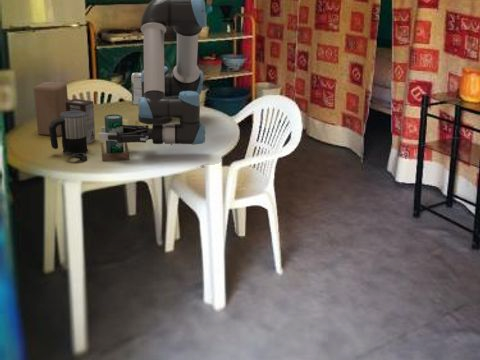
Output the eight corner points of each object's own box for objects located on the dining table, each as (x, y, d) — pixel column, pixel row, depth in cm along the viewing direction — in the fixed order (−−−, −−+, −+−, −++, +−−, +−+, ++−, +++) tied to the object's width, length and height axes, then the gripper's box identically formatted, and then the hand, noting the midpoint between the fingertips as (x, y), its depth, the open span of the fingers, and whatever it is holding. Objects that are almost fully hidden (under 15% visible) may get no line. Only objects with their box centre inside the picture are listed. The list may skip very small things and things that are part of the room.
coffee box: (67, 141, 243) (64, 101, 237) (76, 137, 248) (73, 98, 242) (87, 144, 240) (84, 104, 234) (96, 139, 246) (93, 100, 240)
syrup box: (132, 101, 303) (131, 72, 298) (144, 101, 304) (144, 72, 298) (131, 104, 298) (130, 75, 293) (144, 104, 298) (143, 75, 293)
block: (59, 136, 248) (55, 88, 240) (37, 134, 250) (32, 86, 242) (71, 130, 257) (67, 82, 250) (49, 128, 259) (44, 81, 251)
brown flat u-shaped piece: (126, 148, 237) (126, 141, 236) (129, 159, 225) (129, 153, 224) (101, 149, 235) (101, 143, 234) (102, 161, 223) (102, 154, 222)
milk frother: (77, 146, 238) (74, 108, 233) (105, 154, 229) (103, 116, 224) (47, 155, 227) (43, 116, 222) (75, 164, 219) (72, 124, 213)
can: (115, 159, 225) (113, 119, 219) (103, 156, 228) (101, 116, 222) (127, 154, 230) (125, 116, 224) (114, 151, 233) (112, 113, 227)
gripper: (162, 152, 219) (96, 151, 218) (165, 135, 237) (104, 135, 236) (161, 132, 216) (95, 131, 215) (164, 116, 235) (103, 116, 233)
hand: (100, 133), depth 225 cm, fingers open, 7 cm apart
